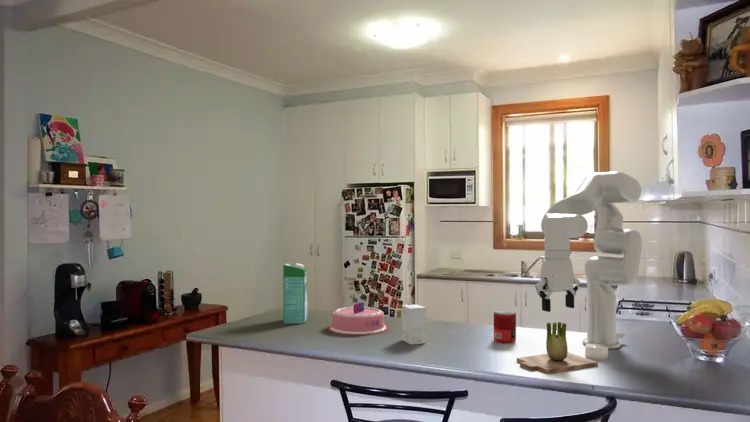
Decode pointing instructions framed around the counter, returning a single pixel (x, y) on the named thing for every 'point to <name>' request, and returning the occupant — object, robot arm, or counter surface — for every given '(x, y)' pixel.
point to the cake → (358, 320)
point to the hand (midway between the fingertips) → (558, 309)
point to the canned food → (504, 326)
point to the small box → (414, 324)
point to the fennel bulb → (556, 341)
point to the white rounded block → (596, 351)
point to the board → (555, 363)
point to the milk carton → (294, 293)
